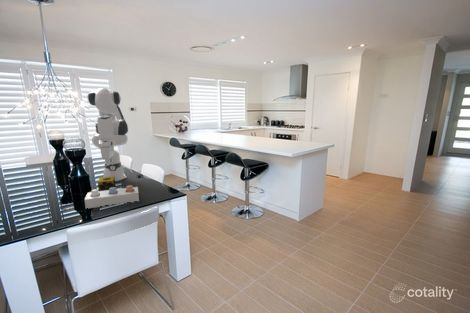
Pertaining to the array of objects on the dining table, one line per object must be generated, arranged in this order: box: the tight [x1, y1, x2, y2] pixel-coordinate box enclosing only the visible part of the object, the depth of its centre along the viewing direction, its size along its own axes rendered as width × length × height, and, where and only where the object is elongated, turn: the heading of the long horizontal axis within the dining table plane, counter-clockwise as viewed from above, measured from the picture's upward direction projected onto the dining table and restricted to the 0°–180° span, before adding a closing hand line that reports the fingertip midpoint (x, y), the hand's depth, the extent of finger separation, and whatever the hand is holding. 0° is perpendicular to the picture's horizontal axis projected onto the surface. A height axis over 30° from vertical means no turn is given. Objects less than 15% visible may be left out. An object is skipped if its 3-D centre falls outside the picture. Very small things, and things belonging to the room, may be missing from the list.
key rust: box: [125, 184, 134, 192], centre depth 155 cm, size 4×4×5 cm
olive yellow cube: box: [97, 176, 117, 191], centre depth 167 cm, size 10×10×10 cm
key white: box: [90, 188, 99, 197], centre depth 147 cm, size 4×4×5 cm
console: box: [84, 186, 140, 210], centre depth 152 cm, size 12×30×6 cm, turn 114°
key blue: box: [109, 186, 117, 194], centre depth 151 cm, size 4×4×5 cm
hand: (109, 163), depth 148 cm, fingers open, 8 cm apart
